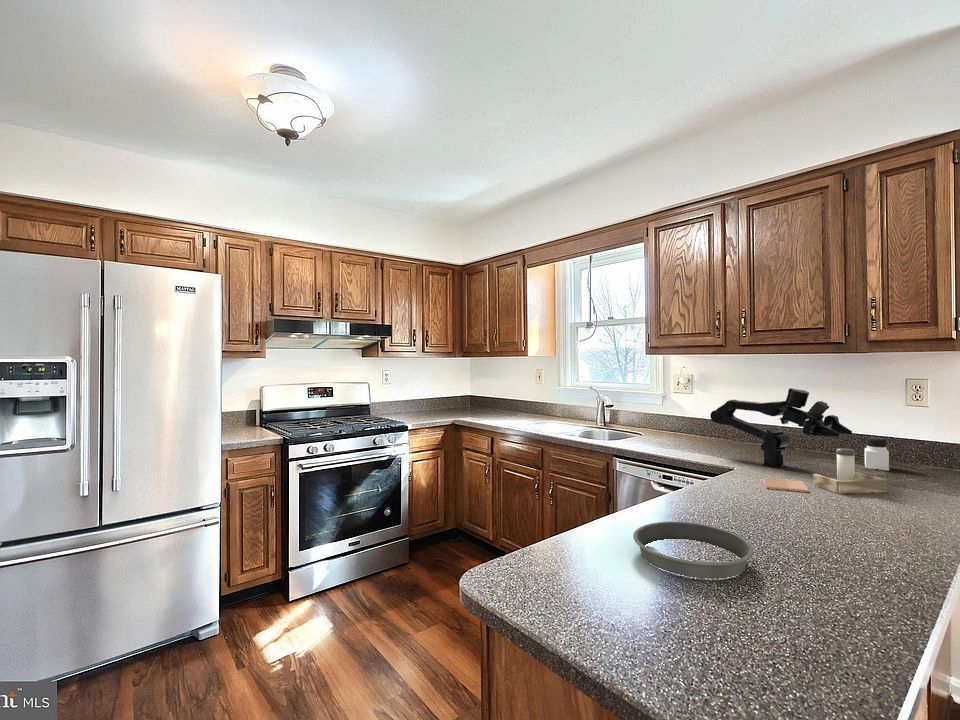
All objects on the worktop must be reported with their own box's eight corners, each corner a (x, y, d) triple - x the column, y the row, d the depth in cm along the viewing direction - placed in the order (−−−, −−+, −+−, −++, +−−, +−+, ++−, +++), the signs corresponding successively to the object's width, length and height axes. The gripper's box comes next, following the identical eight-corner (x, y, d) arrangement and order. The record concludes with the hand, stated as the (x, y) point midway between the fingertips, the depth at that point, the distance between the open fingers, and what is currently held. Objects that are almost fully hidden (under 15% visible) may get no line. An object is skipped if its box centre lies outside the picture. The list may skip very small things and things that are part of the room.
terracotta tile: (763, 480, 170) (763, 478, 170) (802, 483, 164) (802, 481, 164) (766, 488, 159) (766, 486, 159) (808, 492, 154) (808, 490, 154)
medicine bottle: (889, 471, 180) (889, 440, 180) (865, 468, 184) (865, 438, 184) (887, 467, 186) (887, 437, 186) (864, 465, 190) (864, 435, 190)
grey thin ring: (654, 531, 123) (654, 514, 123) (762, 555, 107) (762, 535, 107) (616, 564, 104) (616, 543, 104) (741, 598, 88) (740, 574, 88)
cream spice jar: (835, 487, 159) (834, 449, 159) (838, 484, 162) (837, 447, 162) (853, 490, 155) (853, 451, 155) (856, 487, 159) (856, 449, 159)
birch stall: (813, 485, 162) (813, 474, 162) (858, 483, 164) (857, 471, 164) (839, 494, 151) (839, 482, 151) (887, 491, 153) (887, 479, 153)
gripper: (793, 399, 176) (839, 415, 163) (819, 397, 185) (865, 411, 172) (785, 427, 179) (830, 444, 166) (811, 423, 188) (855, 439, 175)
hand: (845, 434), depth 170 cm, fingers open, 9 cm apart
